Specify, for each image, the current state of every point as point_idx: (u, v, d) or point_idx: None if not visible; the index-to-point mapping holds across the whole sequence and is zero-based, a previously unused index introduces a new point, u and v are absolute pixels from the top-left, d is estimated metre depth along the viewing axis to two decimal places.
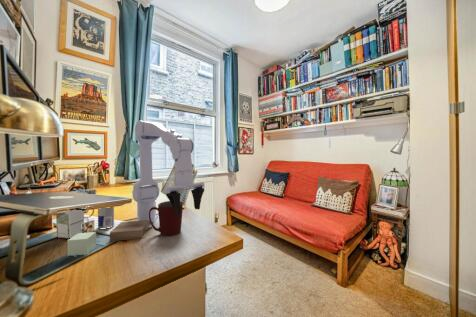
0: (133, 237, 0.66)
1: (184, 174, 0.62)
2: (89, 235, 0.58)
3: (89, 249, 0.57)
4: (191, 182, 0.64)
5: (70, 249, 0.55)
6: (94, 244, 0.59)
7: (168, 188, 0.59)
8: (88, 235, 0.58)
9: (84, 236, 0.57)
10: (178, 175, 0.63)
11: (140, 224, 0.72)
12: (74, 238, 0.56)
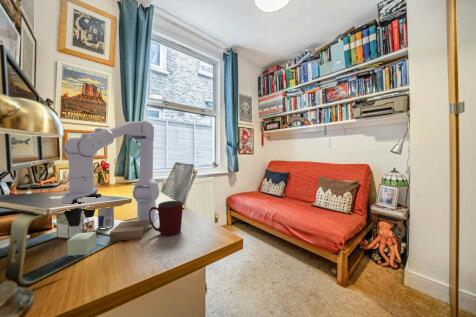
0: (133, 237, 0.66)
1: None
2: (89, 235, 0.58)
3: (89, 249, 0.57)
4: None
5: (70, 249, 0.55)
6: (94, 244, 0.59)
7: None
8: (88, 235, 0.58)
9: (84, 236, 0.57)
10: None
11: (140, 224, 0.72)
12: (74, 238, 0.56)
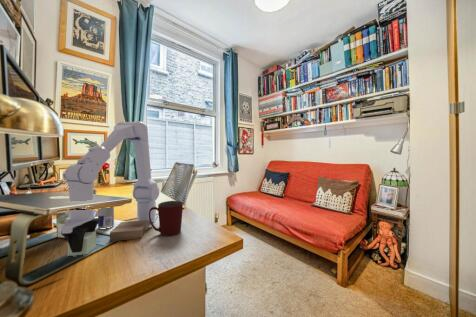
0: (133, 237, 0.66)
1: None
2: (89, 235, 0.58)
3: (89, 249, 0.57)
4: None
5: (70, 249, 0.55)
6: (94, 243, 0.59)
7: None
8: (88, 234, 0.58)
9: (84, 236, 0.57)
10: None
11: (140, 224, 0.72)
12: None
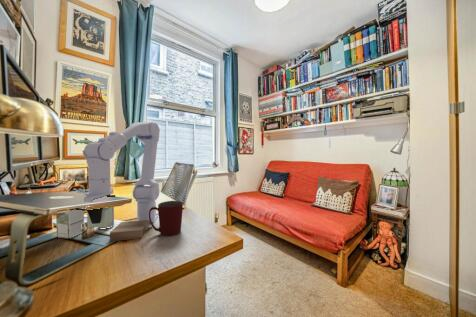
0: (133, 237, 0.66)
1: None
2: (106, 209, 0.62)
3: (107, 221, 0.61)
4: None
5: (89, 220, 0.59)
6: (110, 217, 0.64)
7: None
8: (105, 208, 0.62)
9: None
10: None
11: (140, 224, 0.72)
12: None
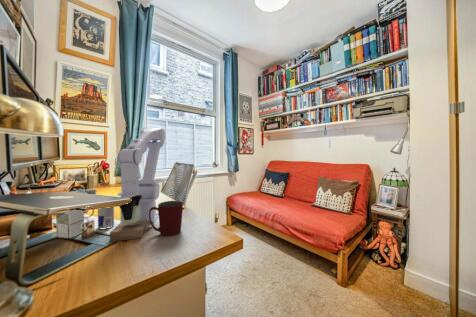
0: (133, 237, 0.66)
1: None
2: (136, 207, 0.71)
3: (136, 218, 0.70)
4: None
5: (122, 217, 0.68)
6: (139, 215, 0.72)
7: None
8: (134, 207, 0.71)
9: None
10: None
11: (140, 224, 0.72)
12: None
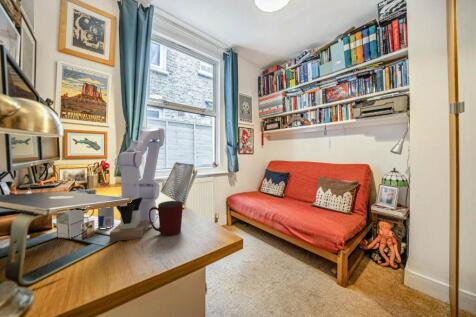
0: (133, 237, 0.66)
1: None
2: (136, 212, 0.71)
3: (136, 223, 0.70)
4: (121, 195, 0.69)
5: (122, 222, 0.68)
6: (139, 220, 0.72)
7: None
8: (135, 212, 0.71)
9: (132, 213, 0.70)
10: None
11: (140, 224, 0.72)
12: None
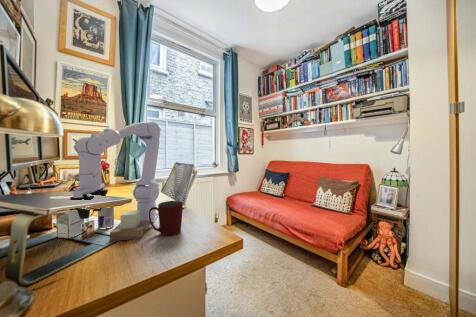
0: (133, 237, 0.66)
1: None
2: (136, 212, 0.71)
3: (136, 223, 0.70)
4: None
5: (122, 222, 0.68)
6: (139, 220, 0.72)
7: None
8: (135, 212, 0.71)
9: (132, 213, 0.70)
10: None
11: (140, 224, 0.72)
12: (125, 214, 0.69)
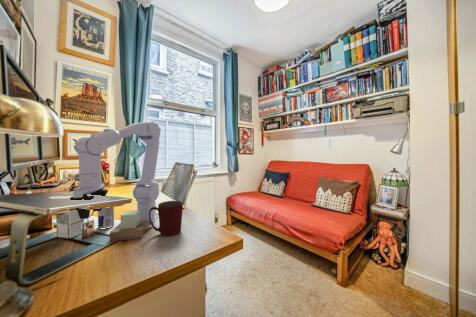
0: (133, 237, 0.66)
1: None
2: (136, 212, 0.71)
3: (136, 223, 0.70)
4: None
5: (122, 222, 0.68)
6: (139, 220, 0.72)
7: None
8: (135, 212, 0.71)
9: (132, 213, 0.70)
10: None
11: (140, 224, 0.72)
12: (125, 214, 0.69)
